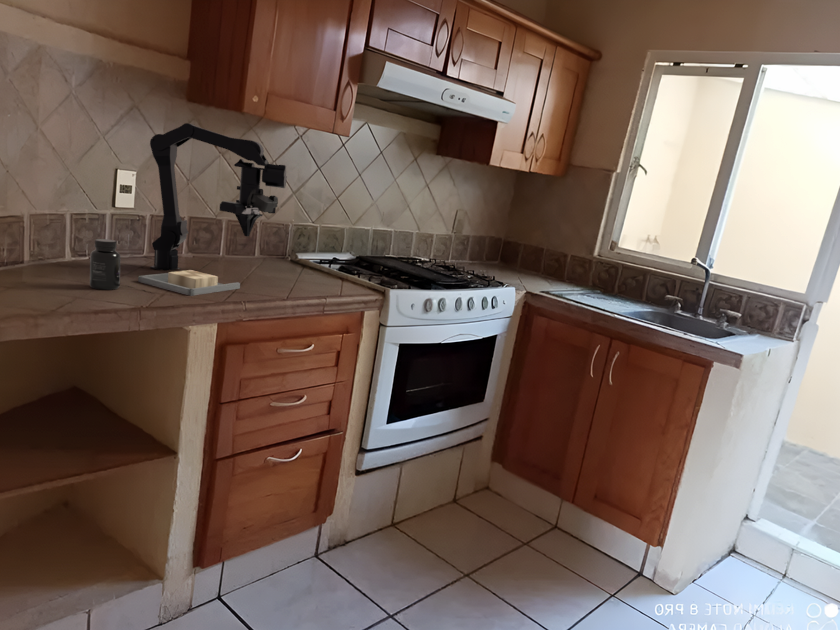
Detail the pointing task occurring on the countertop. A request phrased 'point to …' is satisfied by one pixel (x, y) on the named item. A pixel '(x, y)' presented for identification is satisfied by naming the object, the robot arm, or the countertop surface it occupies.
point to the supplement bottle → (105, 265)
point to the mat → (162, 282)
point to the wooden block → (192, 279)
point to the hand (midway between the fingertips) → (246, 236)
